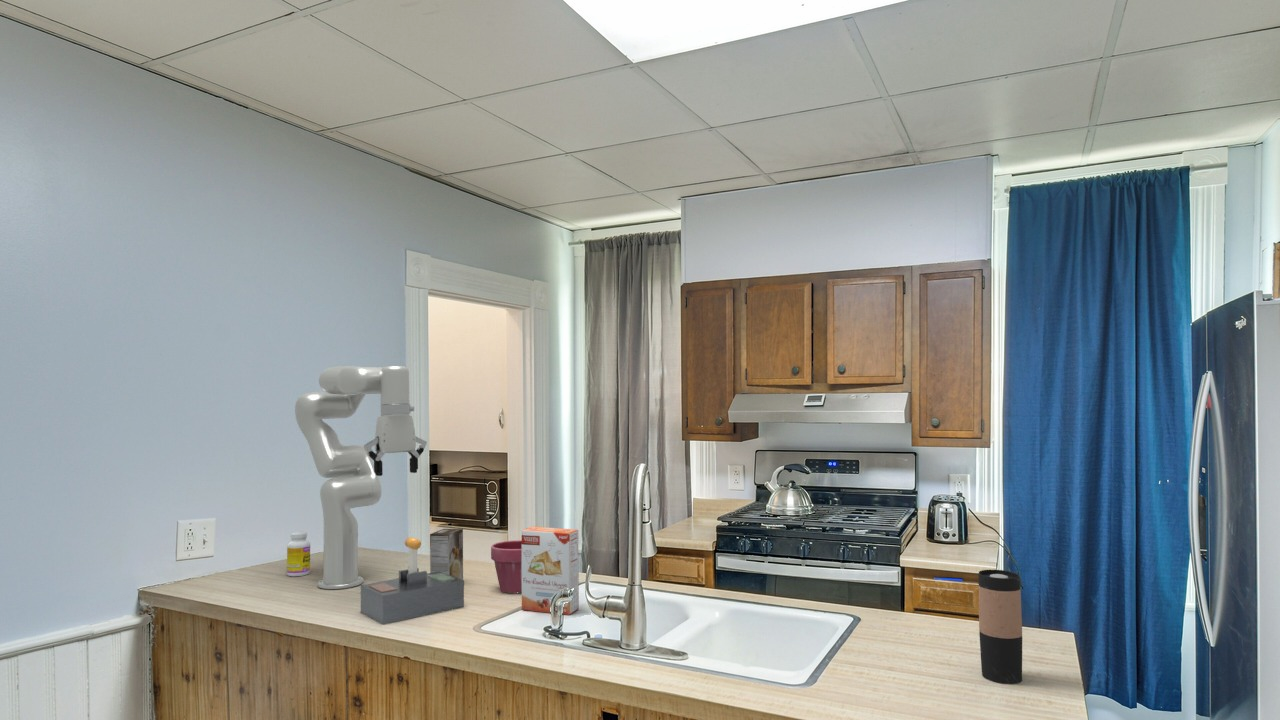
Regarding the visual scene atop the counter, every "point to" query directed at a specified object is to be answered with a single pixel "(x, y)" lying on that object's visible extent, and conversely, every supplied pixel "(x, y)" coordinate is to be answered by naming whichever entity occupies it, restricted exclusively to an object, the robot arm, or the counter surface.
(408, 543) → the breaker lever
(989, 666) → the travel mug
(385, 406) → the robot arm
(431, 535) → the coffee box
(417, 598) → the breaker box
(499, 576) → the plant pot
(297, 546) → the supplement bottle
